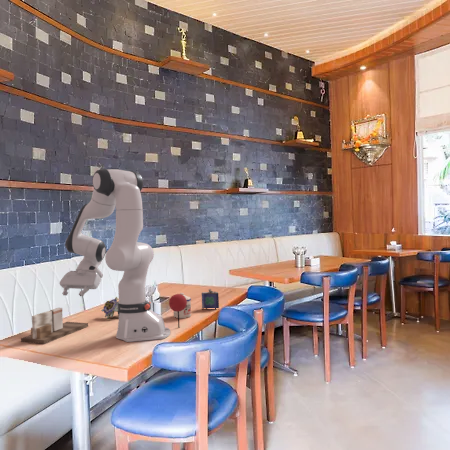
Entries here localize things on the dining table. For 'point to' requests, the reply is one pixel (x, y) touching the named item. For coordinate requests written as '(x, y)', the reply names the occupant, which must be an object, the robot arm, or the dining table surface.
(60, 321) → the white striped box
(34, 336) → the board
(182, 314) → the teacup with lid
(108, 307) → the passion flower
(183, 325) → the dining table surface
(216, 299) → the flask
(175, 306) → the lollipop
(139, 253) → the robot arm
